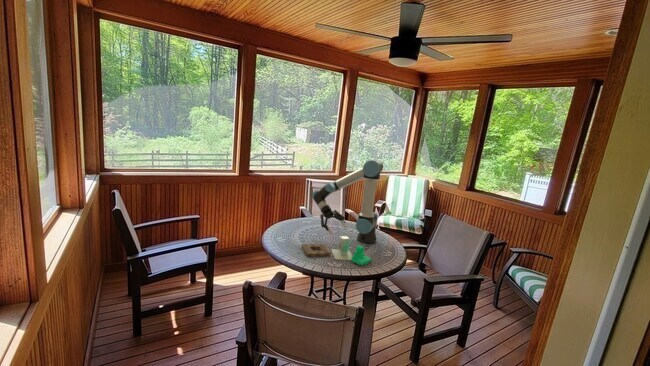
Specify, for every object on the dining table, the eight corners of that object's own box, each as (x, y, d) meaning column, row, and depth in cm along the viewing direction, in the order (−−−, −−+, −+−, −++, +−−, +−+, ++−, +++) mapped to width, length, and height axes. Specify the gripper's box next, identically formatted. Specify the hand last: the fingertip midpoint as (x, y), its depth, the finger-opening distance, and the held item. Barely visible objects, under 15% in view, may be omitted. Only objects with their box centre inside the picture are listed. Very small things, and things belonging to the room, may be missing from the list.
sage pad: (349, 250, 213) (349, 249, 213) (354, 260, 198) (354, 259, 198) (331, 249, 211) (331, 249, 211) (335, 259, 196) (335, 259, 196)
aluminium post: (344, 252, 208) (346, 236, 206) (347, 255, 203) (349, 238, 201) (337, 252, 206) (339, 236, 204) (340, 255, 201) (342, 238, 199)
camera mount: (360, 266, 190) (362, 251, 188) (351, 262, 195) (353, 247, 193) (371, 262, 199) (373, 247, 197) (362, 257, 204) (364, 243, 202)
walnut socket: (322, 246, 215) (323, 243, 215) (330, 256, 201) (330, 253, 200) (301, 246, 210) (301, 244, 210) (307, 256, 195) (307, 253, 195)
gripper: (336, 206, 239) (350, 228, 229) (309, 215, 226) (323, 238, 216) (339, 201, 233) (353, 223, 223) (311, 209, 220) (325, 233, 210)
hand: (338, 230), depth 219 cm, fingers open, 13 cm apart
